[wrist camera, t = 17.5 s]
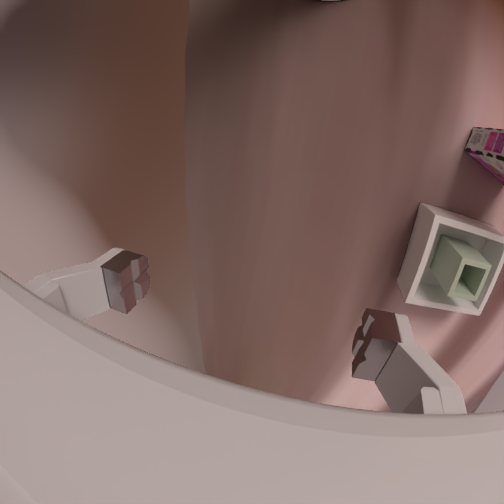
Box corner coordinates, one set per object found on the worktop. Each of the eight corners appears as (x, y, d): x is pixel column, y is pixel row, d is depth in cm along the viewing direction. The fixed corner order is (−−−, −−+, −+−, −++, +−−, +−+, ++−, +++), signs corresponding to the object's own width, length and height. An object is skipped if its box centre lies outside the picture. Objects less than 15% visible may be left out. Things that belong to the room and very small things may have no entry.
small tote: (440, 234, 37) (462, 257, 29) (467, 242, 36) (491, 265, 28) (429, 267, 39) (447, 295, 31) (456, 273, 38) (476, 301, 30)
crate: (420, 202, 37) (435, 214, 31) (491, 225, 34) (511, 239, 28) (396, 280, 43) (404, 302, 37) (465, 294, 40) (479, 315, 34)
